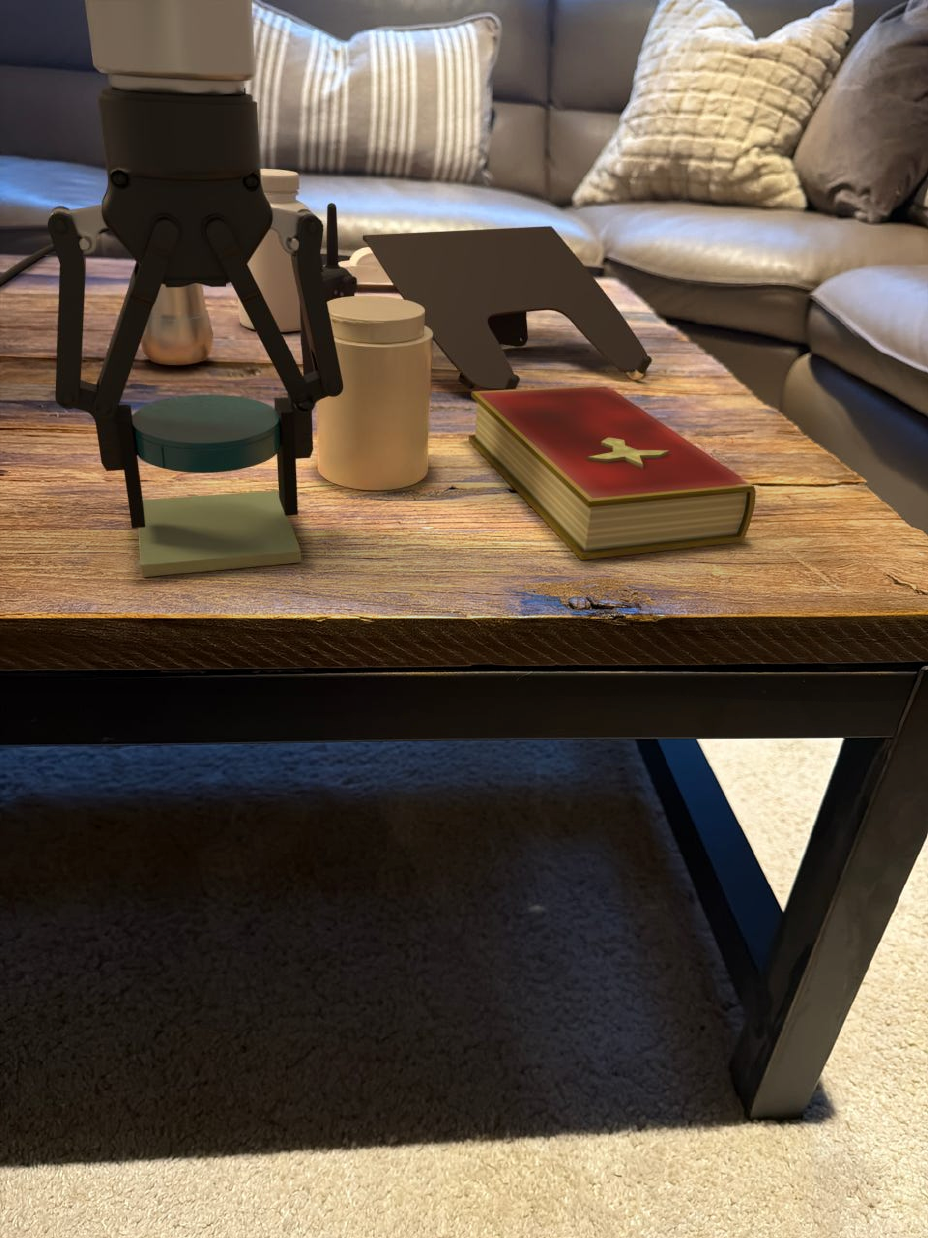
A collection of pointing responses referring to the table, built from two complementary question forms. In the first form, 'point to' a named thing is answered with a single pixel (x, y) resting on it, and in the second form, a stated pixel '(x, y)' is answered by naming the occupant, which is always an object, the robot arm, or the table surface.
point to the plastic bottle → (178, 327)
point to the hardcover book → (609, 472)
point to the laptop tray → (501, 296)
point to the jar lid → (206, 433)
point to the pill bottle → (276, 256)
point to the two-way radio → (329, 281)
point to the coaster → (215, 533)
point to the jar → (377, 395)
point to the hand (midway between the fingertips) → (214, 511)
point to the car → (366, 268)
